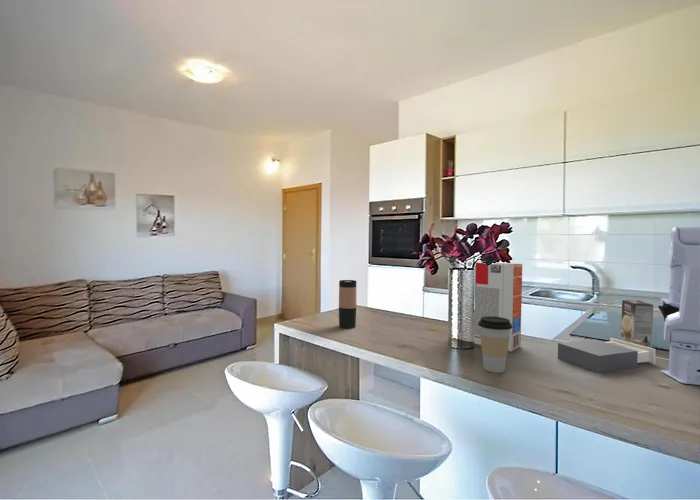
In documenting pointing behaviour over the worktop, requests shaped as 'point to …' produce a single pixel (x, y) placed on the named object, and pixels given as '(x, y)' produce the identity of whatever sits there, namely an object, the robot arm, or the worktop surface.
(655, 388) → the worktop surface
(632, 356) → the sleeve
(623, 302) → the coffee box
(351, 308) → the travel mug
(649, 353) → the mailer tray
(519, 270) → the pasta box
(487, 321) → the coffee cup
